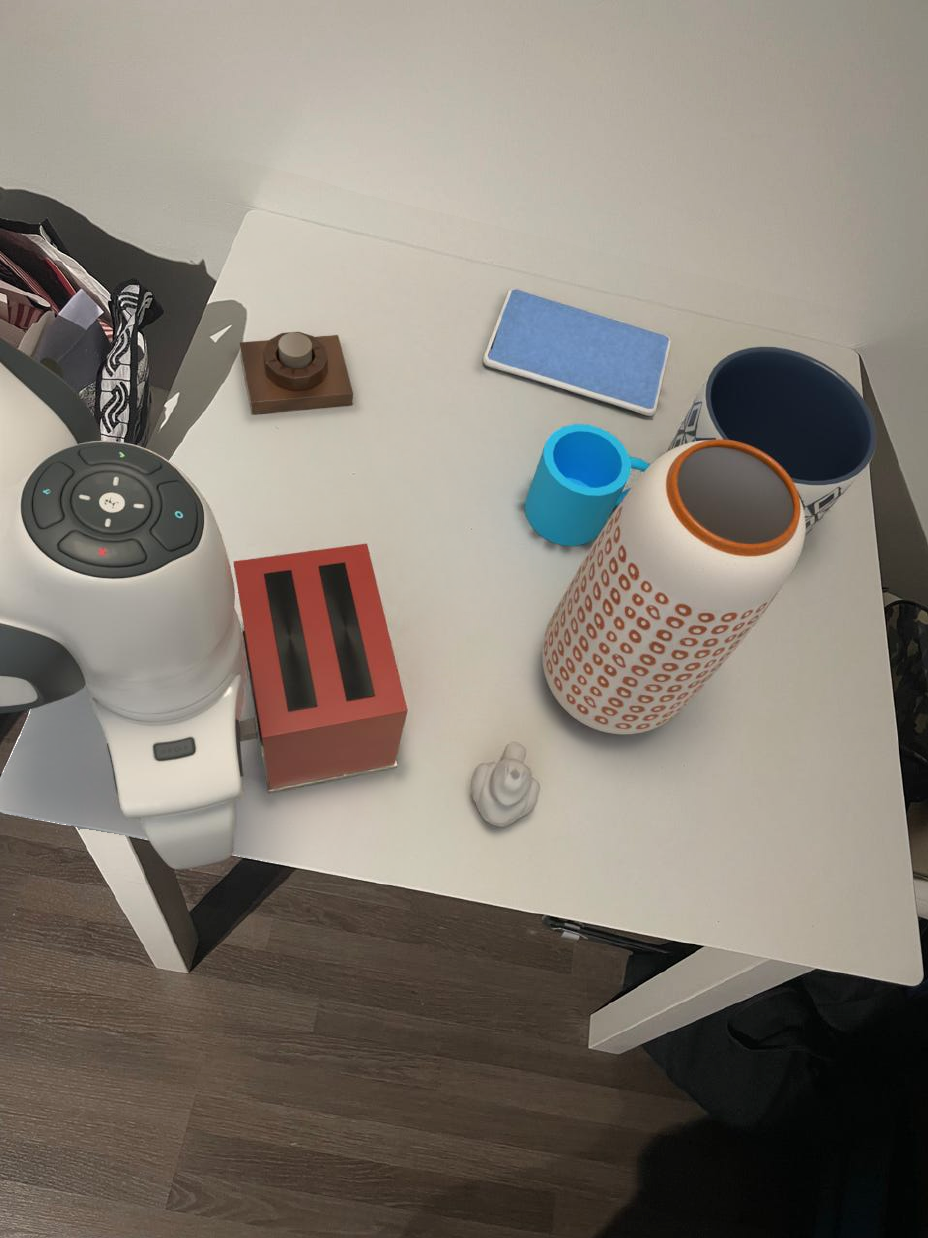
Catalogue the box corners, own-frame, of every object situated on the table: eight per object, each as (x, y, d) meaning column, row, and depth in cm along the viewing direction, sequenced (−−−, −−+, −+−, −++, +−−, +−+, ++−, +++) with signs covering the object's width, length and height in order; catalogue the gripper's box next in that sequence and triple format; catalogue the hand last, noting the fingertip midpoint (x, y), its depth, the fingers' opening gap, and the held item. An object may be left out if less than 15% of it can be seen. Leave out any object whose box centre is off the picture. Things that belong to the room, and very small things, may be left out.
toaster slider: (183, 765, 62) (177, 751, 59) (179, 734, 63) (173, 719, 60) (259, 750, 63) (257, 736, 61) (254, 720, 64) (252, 705, 62)
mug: (536, 550, 83) (556, 499, 75) (515, 481, 86) (533, 427, 79) (651, 537, 85) (681, 487, 78) (626, 471, 89) (653, 417, 82)
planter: (662, 427, 92) (717, 324, 80) (804, 473, 92) (880, 377, 80) (637, 544, 85) (693, 450, 72) (792, 594, 85) (874, 509, 72)
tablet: (479, 367, 93) (481, 358, 91) (508, 291, 99) (510, 282, 98) (651, 422, 93) (656, 414, 91) (669, 343, 99) (673, 334, 98)
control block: (252, 414, 85) (249, 389, 82) (240, 354, 89) (238, 328, 86) (352, 404, 88) (353, 380, 85) (337, 346, 91) (338, 321, 88)
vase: (693, 743, 75) (874, 579, 51) (546, 758, 73) (662, 593, 48) (655, 609, 81) (800, 404, 57) (518, 618, 79) (608, 408, 54)
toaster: (268, 794, 68) (258, 740, 57) (242, 633, 74) (229, 558, 63) (397, 767, 70) (411, 712, 60) (362, 614, 77) (369, 539, 66)
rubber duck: (458, 821, 69) (474, 791, 62) (479, 746, 72) (496, 710, 65) (523, 841, 69) (545, 814, 62) (540, 765, 72) (564, 732, 65)
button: (281, 370, 84) (281, 357, 83) (276, 346, 86) (276, 333, 84) (314, 368, 85) (314, 355, 84) (309, 344, 86) (308, 330, 85)
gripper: (96, 521, 54) (136, 624, 66) (123, 844, 45) (163, 894, 57) (201, 508, 55) (221, 611, 67) (246, 818, 47) (260, 873, 59)
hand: (194, 743), depth 62 cm, fingers open, 8 cm apart
